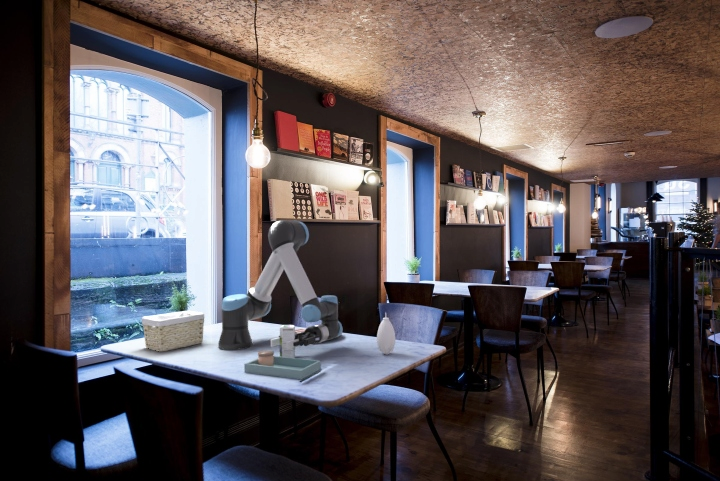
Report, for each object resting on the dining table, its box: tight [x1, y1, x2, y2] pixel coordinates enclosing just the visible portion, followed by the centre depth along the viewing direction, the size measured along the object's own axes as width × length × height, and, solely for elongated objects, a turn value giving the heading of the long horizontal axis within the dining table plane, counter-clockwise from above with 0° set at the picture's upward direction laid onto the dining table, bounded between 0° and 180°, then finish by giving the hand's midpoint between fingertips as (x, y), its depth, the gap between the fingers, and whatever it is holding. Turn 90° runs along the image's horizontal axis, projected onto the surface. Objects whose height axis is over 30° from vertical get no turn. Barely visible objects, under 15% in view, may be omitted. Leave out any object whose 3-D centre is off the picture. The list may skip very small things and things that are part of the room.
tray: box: [243, 355, 322, 383], centre depth 173 cm, size 24×14×4 cm, turn 66°
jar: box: [257, 350, 275, 367], centre depth 176 cm, size 6×6×6 cm
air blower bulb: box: [376, 312, 396, 355], centre depth 201 cm, size 8×8×18 cm
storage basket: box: [141, 310, 205, 352], centre depth 221 cm, size 24×16×15 cm
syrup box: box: [279, 324, 296, 358], centre depth 189 cm, size 6×6×14 cm
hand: (279, 344), depth 185 cm, fingers closed on syrup box, 8 cm apart
